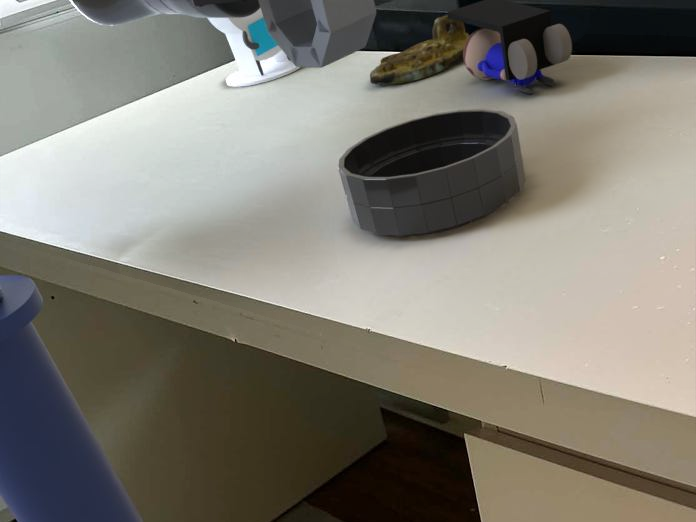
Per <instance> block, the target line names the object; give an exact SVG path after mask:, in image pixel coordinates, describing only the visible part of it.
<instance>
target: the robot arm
mask: <svg viewBox="0 0 696 522" xmlns="http://www.w3.org/2000/svg"><path fill="white" fill-rule="evenodd" d="M70 2H71V4H72V5H73V6H74V7H75V8H76V9H77V11H78V12H80V13H81V14H82V15H83V16H84V17H86V18H87V19H88V20H90V21H92V22H93V23H96V24H98V25H101V26H106V27H114V26H115V27H116V26H120V25H125V24H128V23H133V22H136V21H140V20H144V19H146V18H149V17H153V16H157V15H170V16H172V15H173V16H175V15H186V16H189V17H193V18H199V19H200V18H201V19H208V18H242V17H247V16H250V15H252V14H254V13H255V12H256V11H258V10H259V9H260V4H259V1H258V0H70ZM3 297H4V294H3V292H2V290H1V289H0V302H1V301H2V299H3Z"/></svg>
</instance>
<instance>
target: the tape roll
mask: <svg viewBox="0 0 696 522" xmlns="http://www.w3.org/2000/svg"><path fill="white" fill-rule="evenodd" d="M258 1H259V4H260V8H261V11H262V14H263V17H264V21H265V24H266V27H267V30H268V33H269V34H270V35H271V37H272V38H273V39H274V40H275V42H276V43H277V44H278V45H279V47H280V48H281V49H282V50H283V52H284V53H285V54H286V55H287V56H288V58H289V59H290V60H291V61H292V63H293V64H294V65H295V66H296V67H301V68H315V69H323V68H324V67H327V66H329V65H331V64H333V63H335V62H337V61H339V60H341V59H343V58H345V57H346V58H347V57H348V56H350V55H352V54H354V53H356V52H358V51H361V50H363V49H365V48H366V46H367V44H368V41H369V38H370V34H371V32H372V29H373V26H374V22H375V19H376V16H377V8H376V3H375V0H258Z"/></svg>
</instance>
